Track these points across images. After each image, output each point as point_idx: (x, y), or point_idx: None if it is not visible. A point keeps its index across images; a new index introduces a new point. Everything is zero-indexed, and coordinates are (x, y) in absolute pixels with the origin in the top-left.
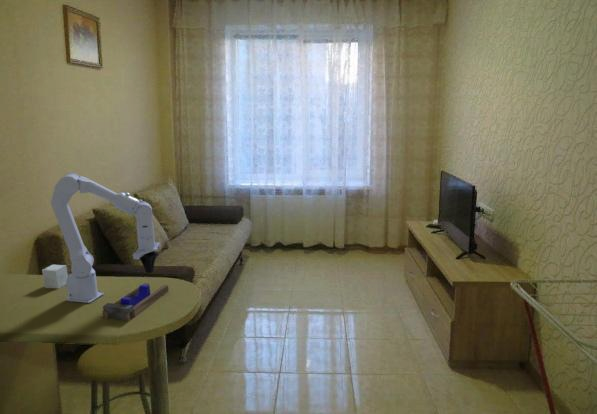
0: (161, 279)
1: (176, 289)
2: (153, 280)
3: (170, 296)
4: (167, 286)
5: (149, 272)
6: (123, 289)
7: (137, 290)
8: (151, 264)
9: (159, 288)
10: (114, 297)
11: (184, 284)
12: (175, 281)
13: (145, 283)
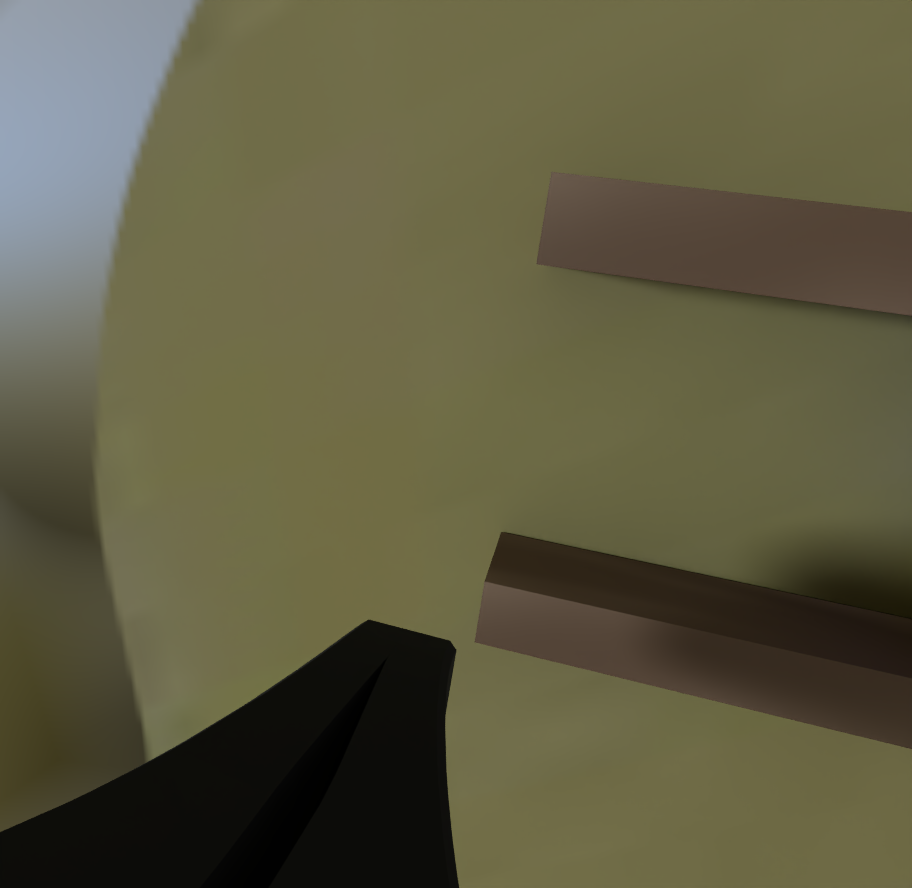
0: (141, 488)
1: (467, 75)
2: (190, 579)
3: (805, 37)
4: (576, 179)
5: (449, 678)
6: (503, 841)
7: (831, 667)
8: (385, 806)
9: (755, 280)
10: (770, 882)
11: (246, 24)
12: (163, 250)
13: (494, 628)
